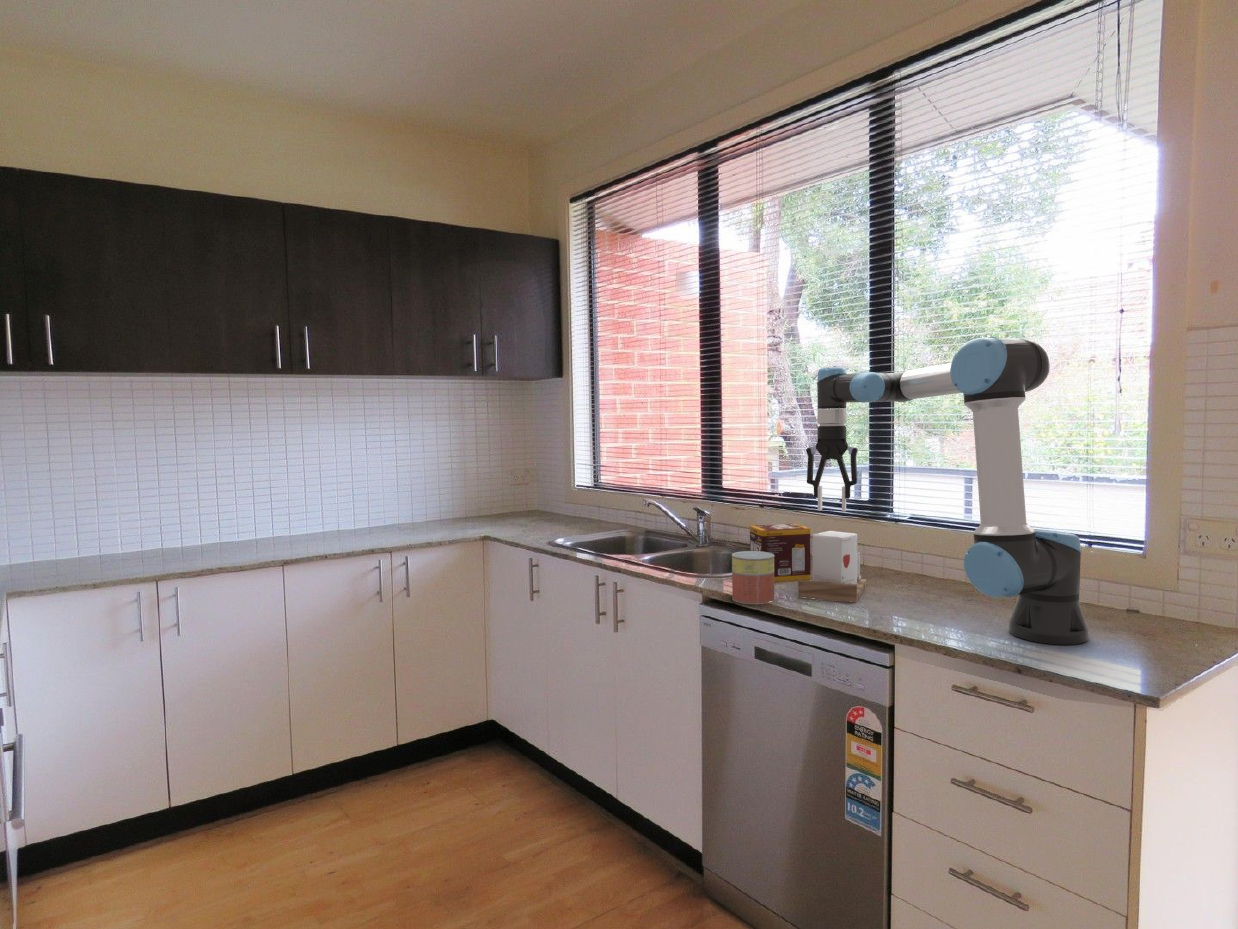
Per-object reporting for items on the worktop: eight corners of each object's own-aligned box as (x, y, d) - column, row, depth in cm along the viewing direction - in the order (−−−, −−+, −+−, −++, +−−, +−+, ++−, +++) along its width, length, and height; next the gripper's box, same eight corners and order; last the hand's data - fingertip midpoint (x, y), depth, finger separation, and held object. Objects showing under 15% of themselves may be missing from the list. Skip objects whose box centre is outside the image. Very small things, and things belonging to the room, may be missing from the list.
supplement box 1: (749, 575, 232) (748, 525, 231) (796, 572, 235) (796, 522, 233) (761, 583, 222) (761, 530, 221) (811, 580, 224) (811, 527, 223)
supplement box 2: (841, 593, 201) (841, 537, 200) (811, 588, 207) (811, 534, 206) (858, 587, 207) (858, 533, 206) (829, 582, 213) (829, 530, 212)
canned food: (753, 592, 211) (753, 549, 210) (783, 599, 202) (783, 555, 201) (723, 598, 204) (722, 554, 204) (752, 606, 195) (752, 560, 194)
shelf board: (856, 602, 197) (856, 585, 197) (798, 597, 203) (798, 581, 203) (866, 584, 217) (866, 569, 217) (813, 580, 223) (812, 565, 223)
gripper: (869, 424, 204) (869, 509, 206) (799, 425, 212) (799, 507, 213) (866, 424, 197) (866, 513, 199) (794, 425, 205) (794, 510, 207)
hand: (831, 510), depth 206 cm, fingers open, 6 cm apart
